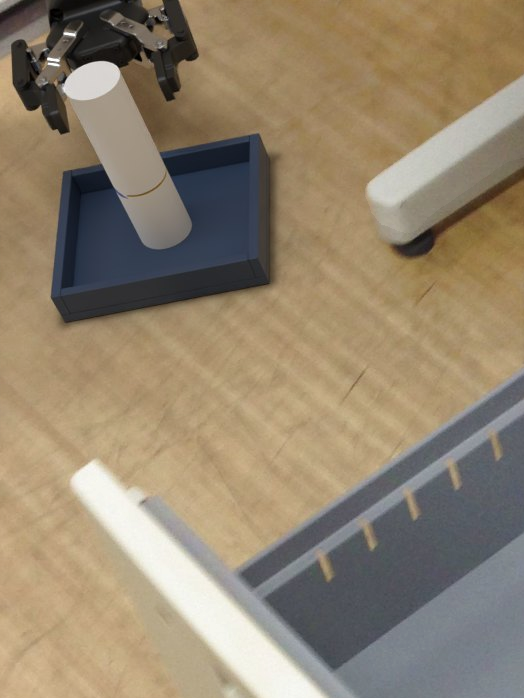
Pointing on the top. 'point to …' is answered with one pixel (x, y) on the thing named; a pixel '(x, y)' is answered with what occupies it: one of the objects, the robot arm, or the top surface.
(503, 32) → the top surface
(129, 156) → the tube
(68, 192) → the tray
